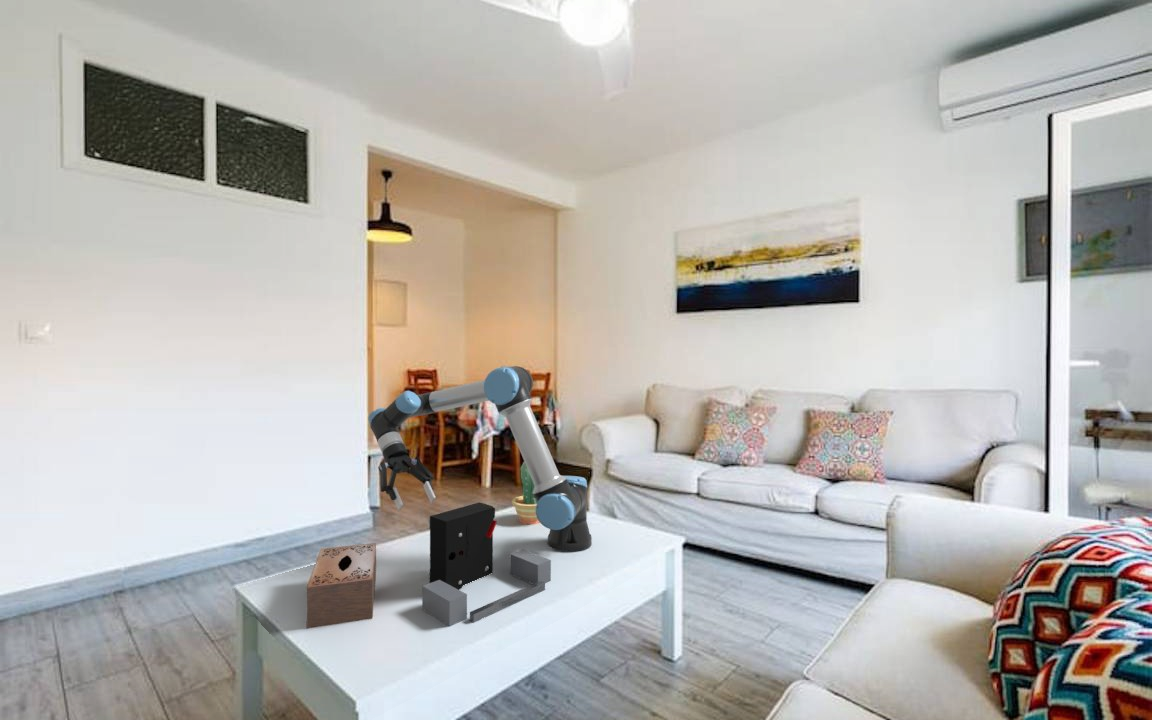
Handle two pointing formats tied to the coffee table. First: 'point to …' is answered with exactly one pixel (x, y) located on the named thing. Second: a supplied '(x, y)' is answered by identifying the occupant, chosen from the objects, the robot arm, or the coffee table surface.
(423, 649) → the coffee table surface
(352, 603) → the tissue box cover
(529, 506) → the potted cactus
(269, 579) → the coffee table surface
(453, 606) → the block
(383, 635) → the coffee table surface
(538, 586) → the metal rail
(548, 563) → the block
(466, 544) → the electrical component
